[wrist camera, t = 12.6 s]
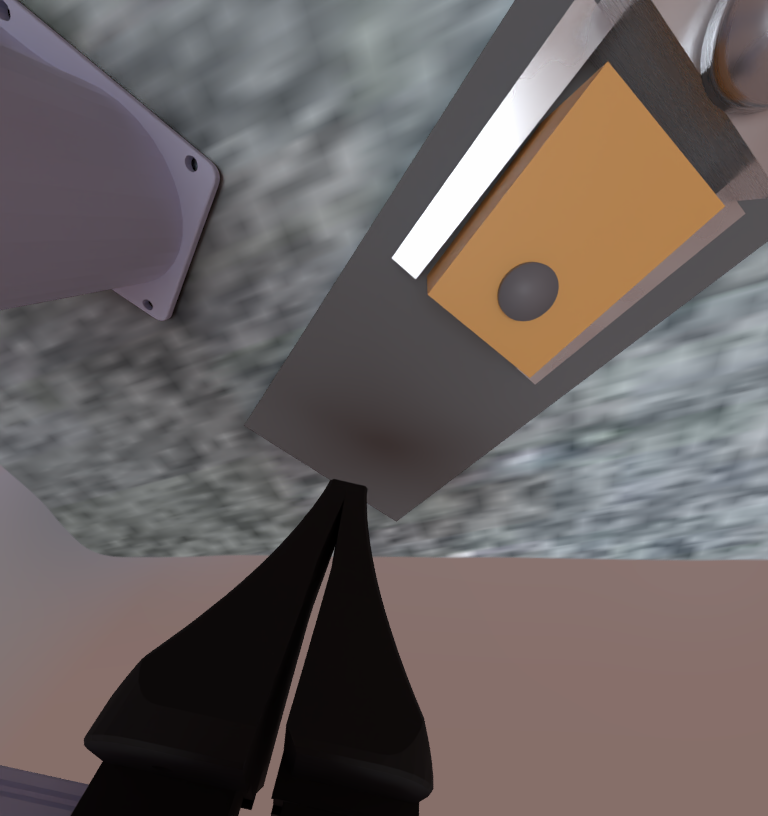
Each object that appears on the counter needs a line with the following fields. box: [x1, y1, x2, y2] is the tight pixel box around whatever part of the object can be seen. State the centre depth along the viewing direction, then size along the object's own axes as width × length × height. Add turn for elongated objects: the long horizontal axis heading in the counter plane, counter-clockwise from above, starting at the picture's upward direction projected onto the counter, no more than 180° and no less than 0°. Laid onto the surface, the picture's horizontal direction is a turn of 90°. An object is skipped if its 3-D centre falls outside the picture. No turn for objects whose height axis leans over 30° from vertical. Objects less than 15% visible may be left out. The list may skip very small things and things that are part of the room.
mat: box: [244, 0, 768, 521], centre depth 14 cm, size 12×27×1 cm, turn 142°
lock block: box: [427, 62, 725, 378], centre depth 10 cm, size 4×6×5 cm
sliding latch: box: [392, 0, 768, 384], centre depth 10 cm, size 8×11×4 cm
